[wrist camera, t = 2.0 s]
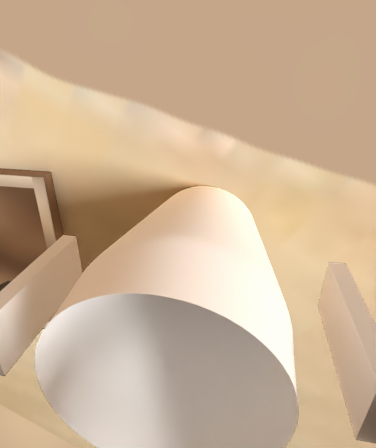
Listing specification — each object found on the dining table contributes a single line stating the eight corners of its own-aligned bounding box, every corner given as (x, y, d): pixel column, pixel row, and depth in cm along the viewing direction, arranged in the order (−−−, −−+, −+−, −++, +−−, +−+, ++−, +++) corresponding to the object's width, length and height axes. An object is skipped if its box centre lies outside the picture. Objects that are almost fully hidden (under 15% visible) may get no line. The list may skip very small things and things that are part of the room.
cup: (305, 240, 20) (370, 436, 9) (203, 307, 24) (166, 500, 13) (207, 134, 18) (145, 224, 7) (114, 225, 22) (-15, 371, 11)
